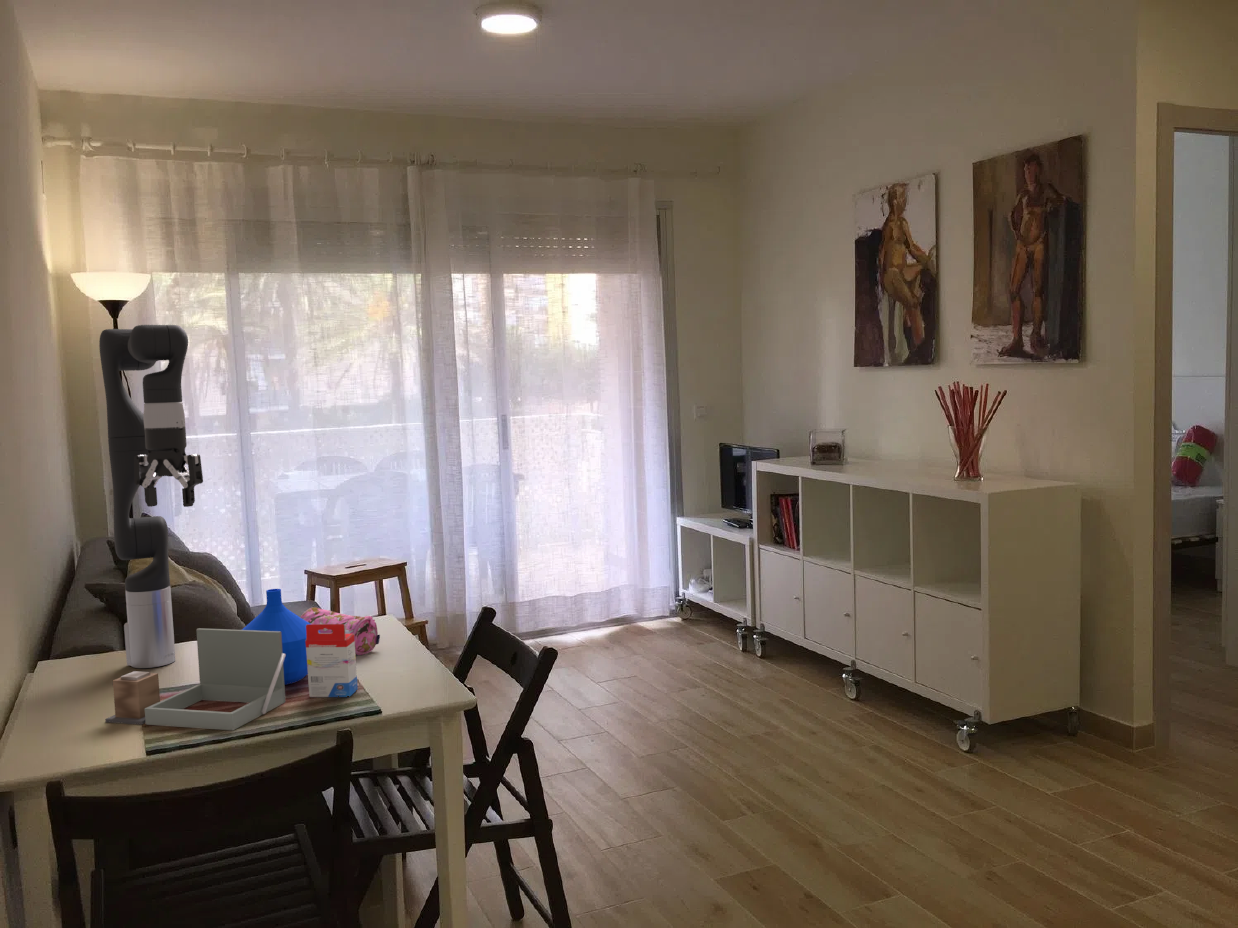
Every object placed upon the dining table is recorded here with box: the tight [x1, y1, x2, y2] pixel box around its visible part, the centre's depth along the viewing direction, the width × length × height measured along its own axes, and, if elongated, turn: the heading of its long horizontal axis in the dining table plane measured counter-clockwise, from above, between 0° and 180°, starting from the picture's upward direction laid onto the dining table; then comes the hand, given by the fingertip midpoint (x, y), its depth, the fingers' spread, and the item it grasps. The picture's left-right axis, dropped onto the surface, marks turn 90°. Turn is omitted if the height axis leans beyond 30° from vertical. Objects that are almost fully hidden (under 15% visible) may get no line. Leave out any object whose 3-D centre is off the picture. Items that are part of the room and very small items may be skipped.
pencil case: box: [299, 606, 381, 656], centre depth 239 cm, size 21×9×9 cm, turn 55°
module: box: [112, 670, 161, 719], centre depth 193 cm, size 6×6×8 cm
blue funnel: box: [241, 588, 320, 685], centre depth 214 cm, size 18×18×19 cm
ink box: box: [305, 624, 359, 698], centre depth 203 cm, size 8×5×15 cm, turn 84°
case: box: [145, 627, 286, 731], centre depth 193 cm, size 19×16×14 cm
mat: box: [104, 714, 146, 725], centre depth 194 cm, size 8×8×1 cm
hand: (170, 506), depth 205 cm, fingers open, 8 cm apart
